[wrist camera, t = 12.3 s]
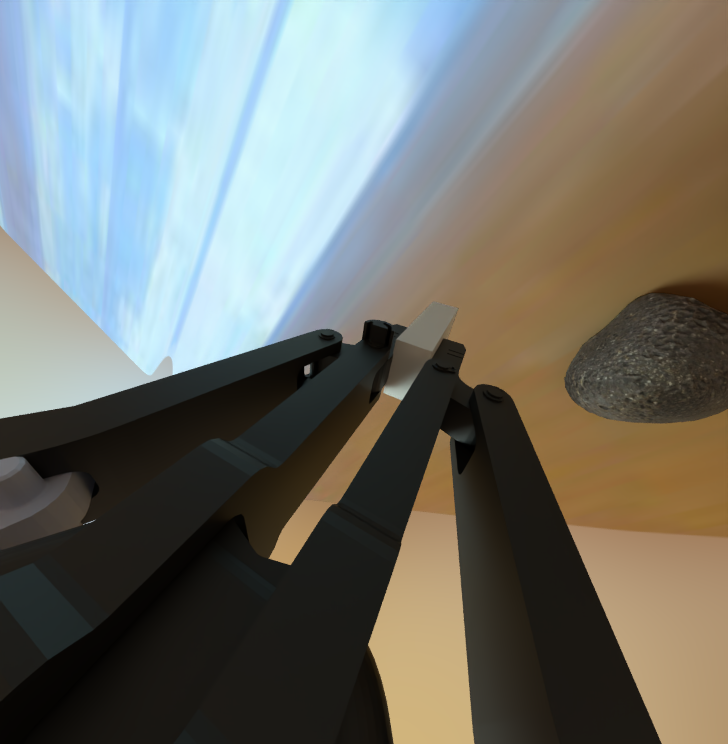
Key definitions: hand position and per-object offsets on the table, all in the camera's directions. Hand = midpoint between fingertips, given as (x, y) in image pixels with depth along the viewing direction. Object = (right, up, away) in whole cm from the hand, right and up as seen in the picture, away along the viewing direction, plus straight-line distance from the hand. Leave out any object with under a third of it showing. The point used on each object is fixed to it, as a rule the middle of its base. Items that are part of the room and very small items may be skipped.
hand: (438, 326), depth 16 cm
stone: (+17, -2, +5) cm, 18 cm away
